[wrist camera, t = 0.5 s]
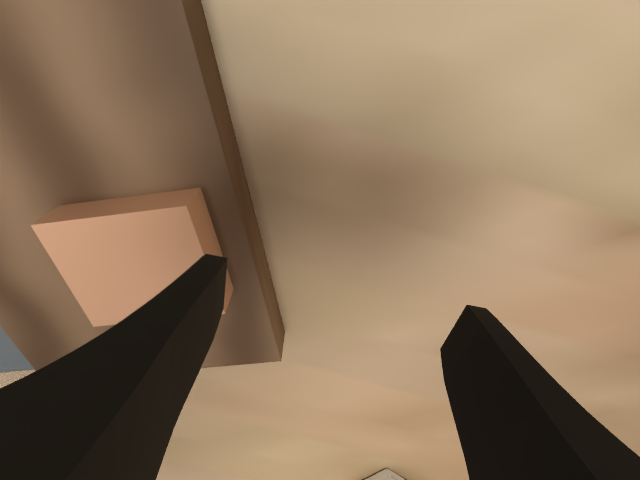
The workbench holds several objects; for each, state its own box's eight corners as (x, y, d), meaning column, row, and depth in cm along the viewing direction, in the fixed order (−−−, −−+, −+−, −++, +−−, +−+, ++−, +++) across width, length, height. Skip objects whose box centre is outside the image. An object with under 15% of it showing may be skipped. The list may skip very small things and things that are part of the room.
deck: (67, 352, 26) (44, 381, 24) (-154, 38, 16) (-229, 40, 14) (284, 332, 25) (281, 360, 23) (195, -22, 15) (172, -31, 12)
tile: (112, 301, 20) (93, 326, 18) (59, 205, 17) (30, 224, 15) (233, 288, 20) (225, 313, 18) (200, 187, 17) (186, 205, 15)
